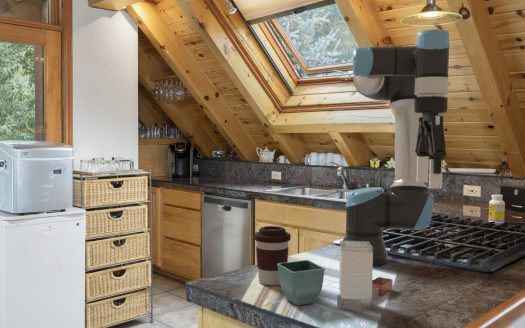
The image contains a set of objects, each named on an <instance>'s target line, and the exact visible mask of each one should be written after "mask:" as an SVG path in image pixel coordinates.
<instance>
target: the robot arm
mask: <svg viewBox="0 0 525 328" xmlns="http://www.w3.org/2000/svg"><path fill="white" fill-rule="evenodd" d="M415 39H416V40H415V41H416V42H415V45H414V46H413V45H409V46H407V45H406V46H405V45H404V46H368V45H367V46H362V47H361V46H360V47H355V48H354V49H353V55H352V74H353V76H354V77H353V86H354V88H355V90H356V92H357V93H359V94H361V96H364V97H365V98H368V99H371V100H375V101H382V102H383V101H385V102H387V101H388V102H389V107H390V108H391V109H392V110H393V111H394V182H393V184H391V185H390V186H389V191H388V192H385V190H384V188H383V187H381V186H380V187H374V186H373V187H363V188H357V189H352V190H350V191H349V192H348V193H347V195H346V202H345V203H346V204H345V209H346V212H345V214H346V215H345V216H346V219H345V237H344V240H343V241H369V242H370V243H371V245H372V247H373V266H382V265H385V264H387V263H388V257H389V255H388V252H387V249H386V244H385V242H384V237H383V233H384V232H383V230H406V231H407V230H408V231H409V230H411V231H414V230H415V231H417V230H418V231H420V230H421V231H423V230H426V229H427V228H428V227H429V226H430V223H431V221H432V217H433V212H434V194H433V193H431V192H429V191H428V190H429V189H443V170H444V168H443V166H444V165H443V164H444V159H445V158H446V157H447V151H446V141H445V140H446V139H445V131H444V116H443V115H439V114H446V113H447V112H448V105H449V104H448V103H449V102H448V100H449V99H448V98H447V97H446V95H448V93H449V92H448V90H449V89H448V88H449V87H450V86H451V82H448V81H449V65H450V64H449V58H450V47H451V43H450V33H449V32H448V31H447V30H445V29H440V28H438V29H436V28H434V29H425V30H421V31H419V32H418V33H416V38H415ZM429 150H430V152H429ZM425 183H428V186H427V184H425Z"/></svg>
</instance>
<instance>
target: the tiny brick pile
mask: <svg viewBox="0 0 525 328" xmlns="http://www.w3.org/2000/svg"><path fill="white" fill-rule="evenodd" d="M391 291H393V279H391V278H386V277H382V276H378V277H377V278H374V279H372V299H343V298H341V295H340V293H338V294H337V296H336V308H337V307H339V308H338V309H341V308H344V309H343V310H346V309H347V310H346V311H350V310H352V311H351V312H354V311H355V312H354V313H358V312H359V313H358V314H361V313H363V312H364V311H366V310H367V309H369V308H371V307H372V302H373V301H375V300H376V299H378V298H379V297H383V296H385V295H386V294H388V293H390V292H391Z"/></svg>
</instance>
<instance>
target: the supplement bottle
mask: <svg viewBox="0 0 525 328" xmlns="http://www.w3.org/2000/svg"><path fill="white" fill-rule="evenodd" d="M503 197H504V196H503V194H491V200H489V202H488V222H489V223H490V222H495V223H494V224H495V225H496V224H499V225H501V224H502V225H503V224H504V223H505V211H506V202H505V201H504V200H503Z"/></svg>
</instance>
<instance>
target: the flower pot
mask: <svg viewBox="0 0 525 328" xmlns="http://www.w3.org/2000/svg"><path fill="white" fill-rule="evenodd" d="M277 265H278V273H279V281H280V285H279V286H280V288H281V290H282V293H283V295H284V296H285V298H286V301H287V300H288V301H289V302H290V303H292V304H293V305H294V306H301V305H309V304H314V303H315V302H316V301H317V299H318V298H319V296H320V295H321V292H322V290H323V284H324V277H325V270H326V269H325V267H323V266H321V265H319V264H317V263H314V262H313V261H311V260H308V259H304V260H296V261H287V262H286V263H278V264H277Z"/></svg>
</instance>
